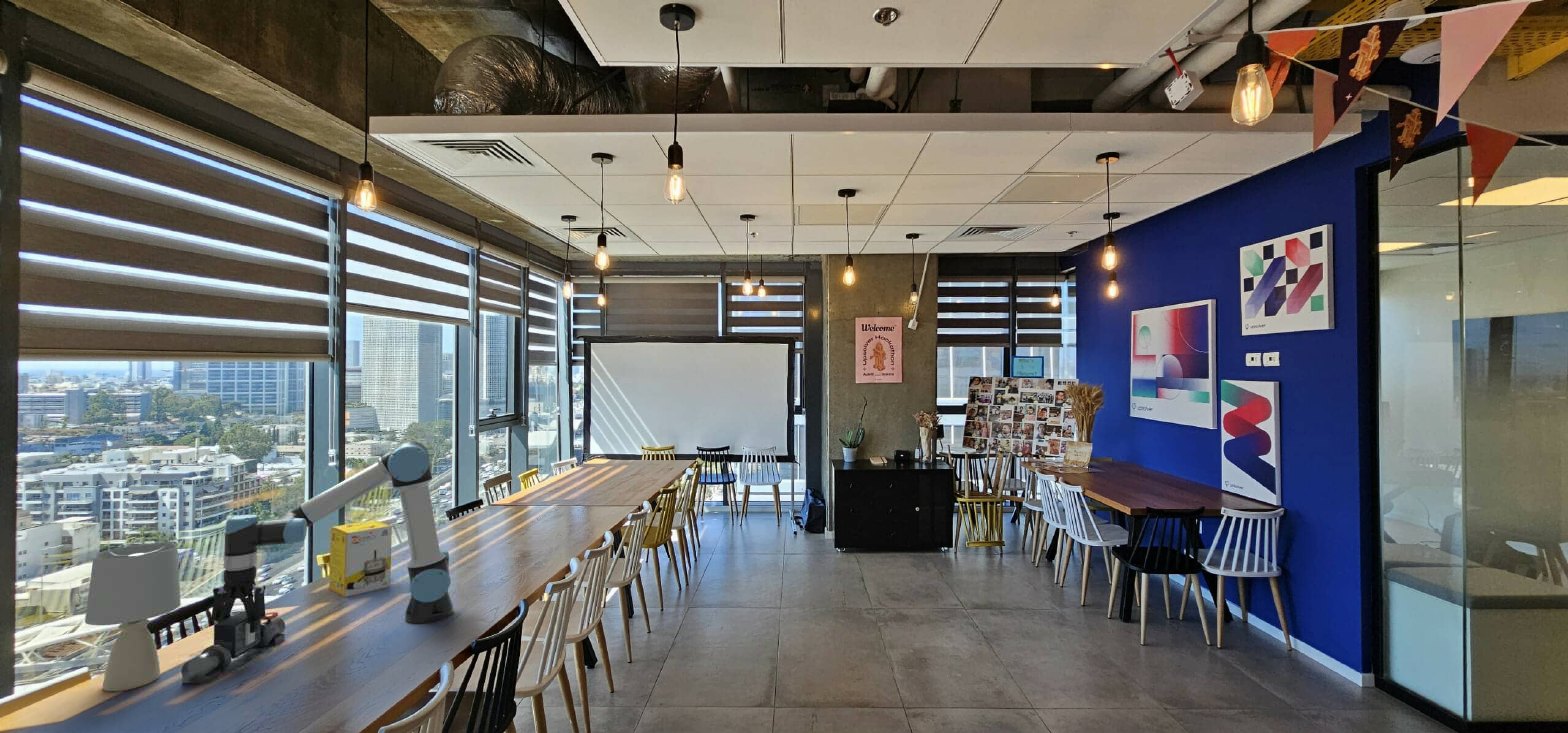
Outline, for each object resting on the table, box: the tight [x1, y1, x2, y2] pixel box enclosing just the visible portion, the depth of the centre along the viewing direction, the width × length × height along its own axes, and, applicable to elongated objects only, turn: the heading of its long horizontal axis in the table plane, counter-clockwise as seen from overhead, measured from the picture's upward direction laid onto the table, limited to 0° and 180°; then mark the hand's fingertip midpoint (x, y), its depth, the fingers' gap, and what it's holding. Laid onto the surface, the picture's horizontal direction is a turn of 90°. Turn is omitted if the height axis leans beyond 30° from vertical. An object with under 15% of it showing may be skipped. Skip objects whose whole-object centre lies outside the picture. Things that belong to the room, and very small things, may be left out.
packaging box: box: [328, 519, 393, 598], centre depth 254 cm, size 16×16×25 cm
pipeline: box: [180, 611, 286, 684], centre depth 188 cm, size 31×11×9 cm, turn 4°
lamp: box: [84, 542, 182, 693], centre depth 174 cm, size 19×19×37 cm
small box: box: [213, 610, 262, 659], centre depth 188 cm, size 11×6×10 cm, turn 5°
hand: (237, 643), depth 188 cm, fingers closed on small box, 6 cm apart
